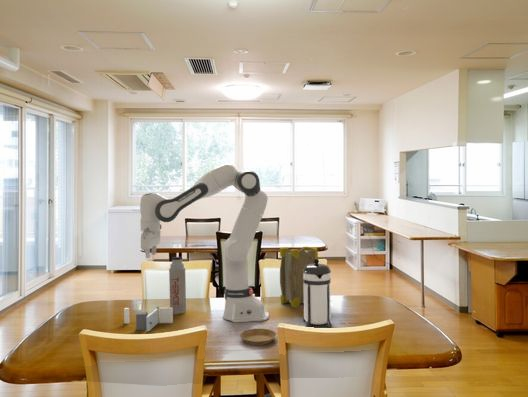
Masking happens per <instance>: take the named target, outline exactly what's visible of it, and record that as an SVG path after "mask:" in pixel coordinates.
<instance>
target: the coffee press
mask: <svg viewBox="0 0 528 397" xmlns="http://www.w3.org/2000/svg"><path fill="white" fill-rule="evenodd" d="M314 263H315V264H308V265H306V266H305V267H304V269H303V283H304V303H303V318H302V321H303V322H305V323H306V327H307V326H308V327H311V328H312V326H313V325H326V326H327V328H331V327H332V326H333V324H332V323H331V271H332V270H331V269H330V267H329V266H328V264H324V263H320V260H319V258H318V259H315V260H314Z"/></svg>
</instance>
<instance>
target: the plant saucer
mask: <svg viewBox="0 0 528 397" xmlns="http://www.w3.org/2000/svg"><path fill="white" fill-rule="evenodd" d="M276 336H277V333H276V332H275V331H274V330H271V329H268V328H267V329H266V328H251V329H248V330H244V331H242V332H241V333H240V336H239V337H240V338H241V339H242V341H244V342H245V343H246V344H248V345H250V346H251V345H252V346H263V345H264V346H265V345H268V344H270V343H271V342H272V341H273V340H274V339H275V338H276Z"/></svg>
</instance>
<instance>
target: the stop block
mask: <svg viewBox="0 0 528 397" xmlns="http://www.w3.org/2000/svg"><path fill="white" fill-rule="evenodd" d="M148 315H149V314H148V311H138V312H137V313H136V314H135V317H136V318H135V319H136V320H135V323H136V327H135V328H136V330H137V331H147V322H146V316H148Z"/></svg>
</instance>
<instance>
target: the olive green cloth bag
mask: <svg viewBox="0 0 528 397" xmlns="http://www.w3.org/2000/svg"><path fill="white" fill-rule="evenodd" d="M318 252H319V251H318V248H317V247H312V246H303V247H302V248H300V249H295V248H293V249H289V247H280V248H279V256H280V257H281V260H280V267H279V285H280V290H281V291H280V293H281V295H280V303H281V304H284V303H285V304H288V303H289V304H290V306H291V308H297V307H300V304H304V283H303V269H304V267H305V266H306V265H308V264H315V263H314V260H315V259H318V260H319V253H318Z"/></svg>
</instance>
